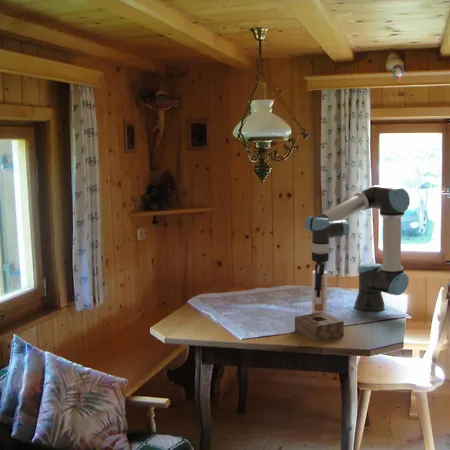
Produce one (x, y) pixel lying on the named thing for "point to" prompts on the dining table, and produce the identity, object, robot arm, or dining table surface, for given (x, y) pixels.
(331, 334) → the socket block
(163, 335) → the dining table surface
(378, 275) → the robot arm
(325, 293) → the cylindrical container
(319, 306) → the peg
